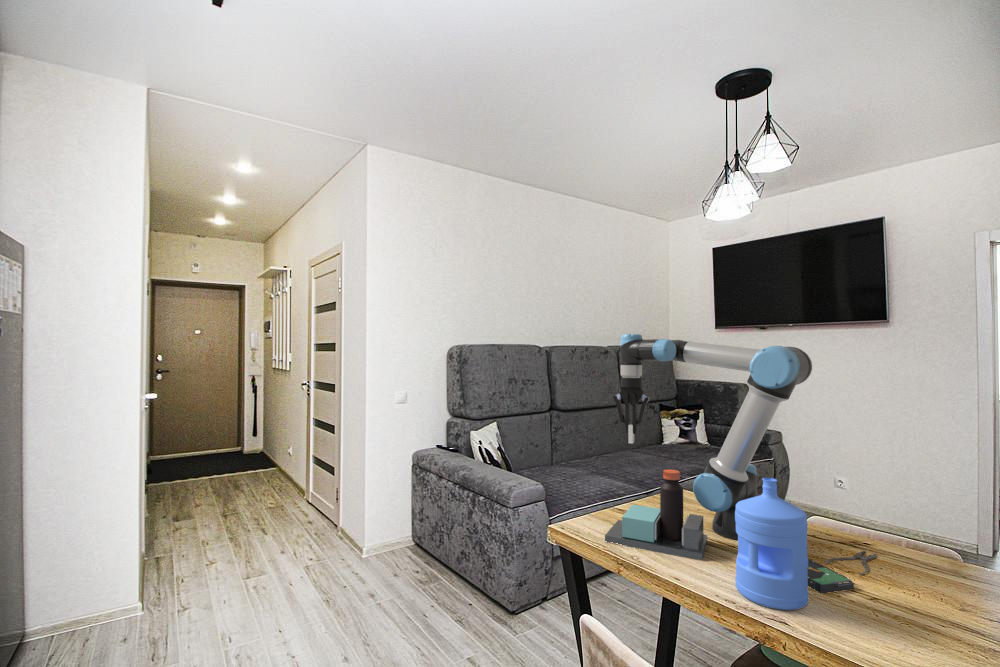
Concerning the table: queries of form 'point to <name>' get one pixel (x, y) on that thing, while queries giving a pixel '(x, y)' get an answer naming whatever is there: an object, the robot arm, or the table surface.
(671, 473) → the vinegar
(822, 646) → the table surface
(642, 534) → the block
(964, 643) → the table surface
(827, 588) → the disk drive
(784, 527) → the water jug
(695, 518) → the vise base
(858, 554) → the pliers
